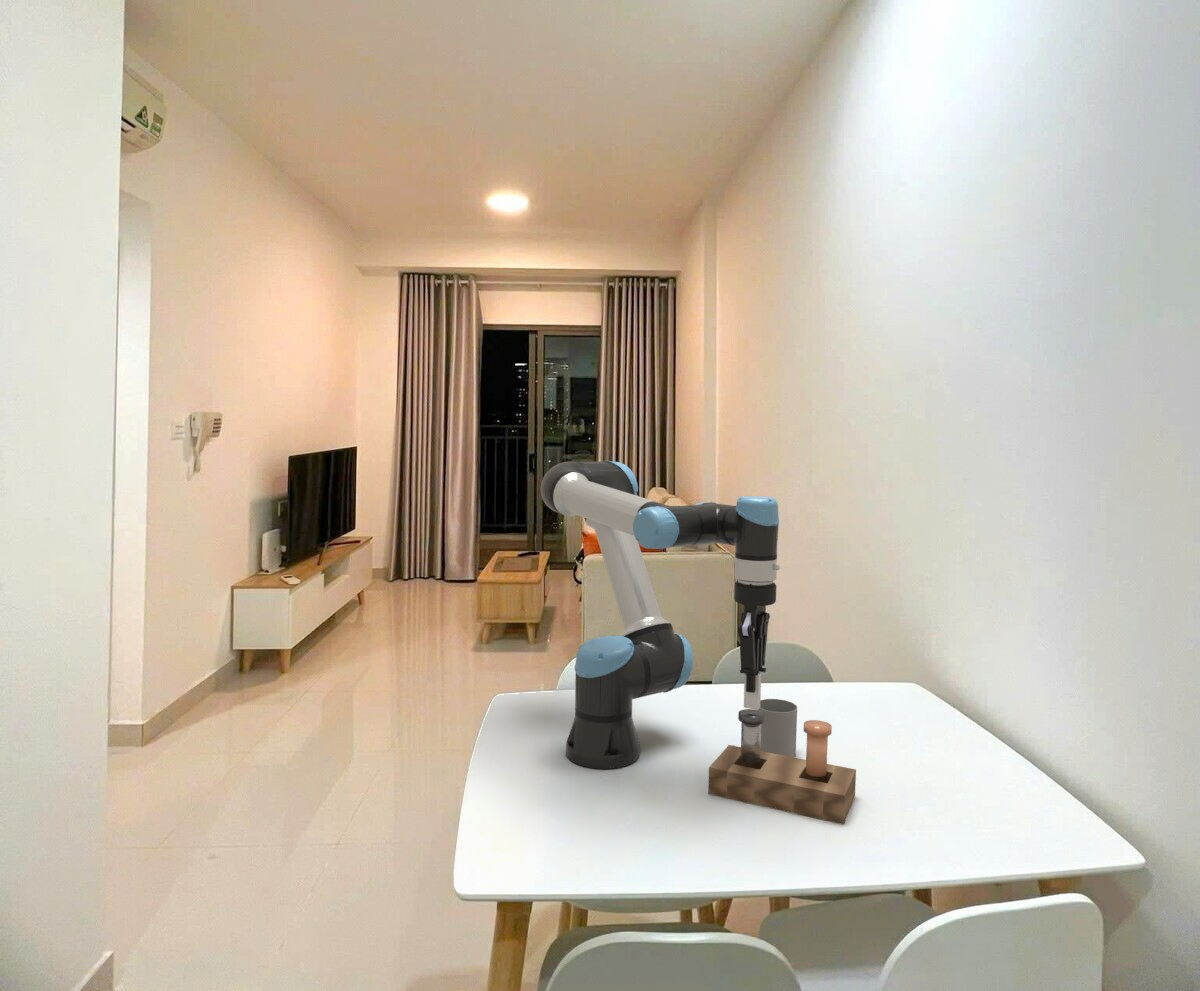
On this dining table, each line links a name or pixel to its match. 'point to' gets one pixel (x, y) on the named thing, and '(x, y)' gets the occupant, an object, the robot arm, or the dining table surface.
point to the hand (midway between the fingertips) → (751, 707)
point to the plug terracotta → (817, 747)
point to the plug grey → (751, 734)
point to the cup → (779, 727)
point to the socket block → (783, 785)
